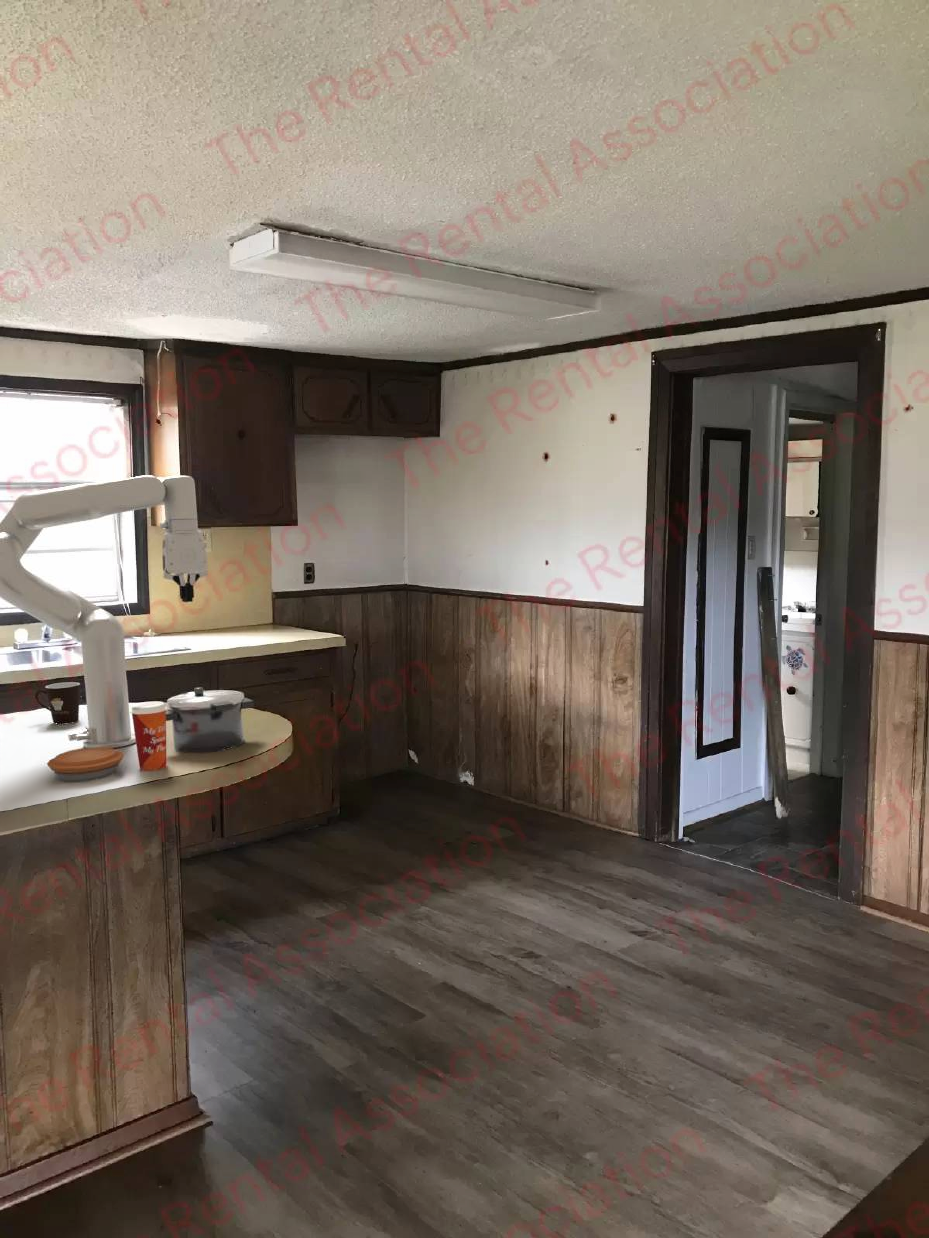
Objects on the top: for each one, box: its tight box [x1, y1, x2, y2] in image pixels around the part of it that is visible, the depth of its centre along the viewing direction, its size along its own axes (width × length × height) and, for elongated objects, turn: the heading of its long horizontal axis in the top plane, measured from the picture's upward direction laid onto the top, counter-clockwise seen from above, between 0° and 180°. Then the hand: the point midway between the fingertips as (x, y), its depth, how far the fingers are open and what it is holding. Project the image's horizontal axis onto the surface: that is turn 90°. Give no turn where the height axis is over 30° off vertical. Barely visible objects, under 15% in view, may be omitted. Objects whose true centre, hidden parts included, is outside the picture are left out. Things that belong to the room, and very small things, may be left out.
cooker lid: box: [166, 687, 245, 711], centre depth 238 cm, size 18×21×3 cm
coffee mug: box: [34, 681, 81, 725], centre depth 273 cm, size 12×9×10 cm
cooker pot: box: [166, 697, 255, 754], centre depth 241 cm, size 22×19×10 cm
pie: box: [46, 747, 125, 783], centre depth 217 cm, size 15×16×5 cm
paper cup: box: [129, 700, 168, 772], centre depth 220 cm, size 8×8×14 cm
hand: (187, 601), depth 249 cm, fingers closed
